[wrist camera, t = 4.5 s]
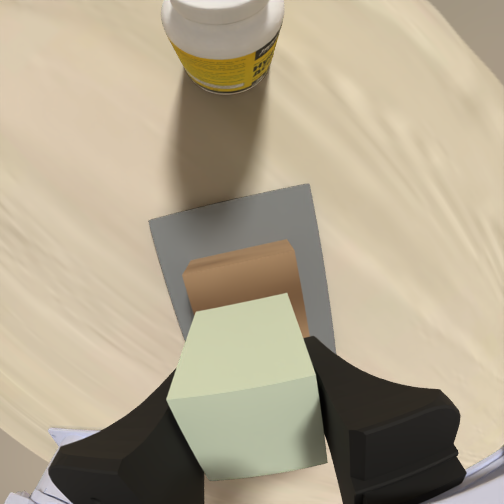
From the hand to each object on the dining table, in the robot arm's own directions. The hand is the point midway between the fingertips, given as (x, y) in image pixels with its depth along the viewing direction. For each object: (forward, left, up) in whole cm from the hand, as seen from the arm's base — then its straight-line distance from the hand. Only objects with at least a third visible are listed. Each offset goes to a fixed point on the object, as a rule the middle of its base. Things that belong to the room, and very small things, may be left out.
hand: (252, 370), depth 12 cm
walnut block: (0, 0, -8) cm, 8 cm away
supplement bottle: (+15, -2, -9) cm, 18 cm away
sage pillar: (0, 0, -2) cm, 2 cm away
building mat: (0, 0, -9) cm, 9 cm away
